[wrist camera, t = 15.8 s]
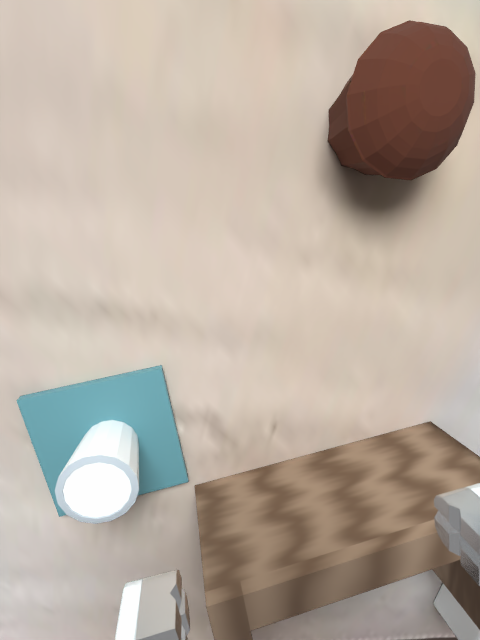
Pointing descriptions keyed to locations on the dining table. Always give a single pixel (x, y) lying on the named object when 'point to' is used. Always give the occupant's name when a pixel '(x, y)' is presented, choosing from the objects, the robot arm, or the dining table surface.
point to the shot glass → (101, 474)
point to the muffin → (404, 102)
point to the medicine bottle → (455, 616)
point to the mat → (103, 405)
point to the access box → (330, 528)
